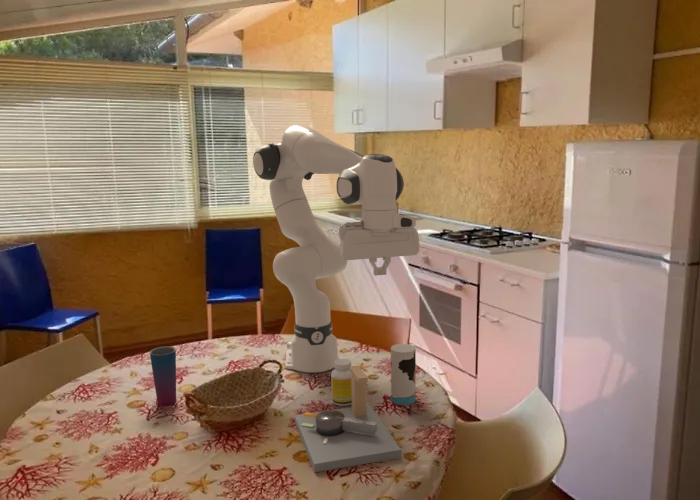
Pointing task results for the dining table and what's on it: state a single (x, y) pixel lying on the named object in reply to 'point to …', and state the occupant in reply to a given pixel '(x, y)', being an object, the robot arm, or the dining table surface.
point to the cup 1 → (164, 374)
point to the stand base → (348, 435)
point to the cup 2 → (403, 374)
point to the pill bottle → (341, 382)
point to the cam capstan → (340, 424)
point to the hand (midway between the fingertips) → (380, 274)
